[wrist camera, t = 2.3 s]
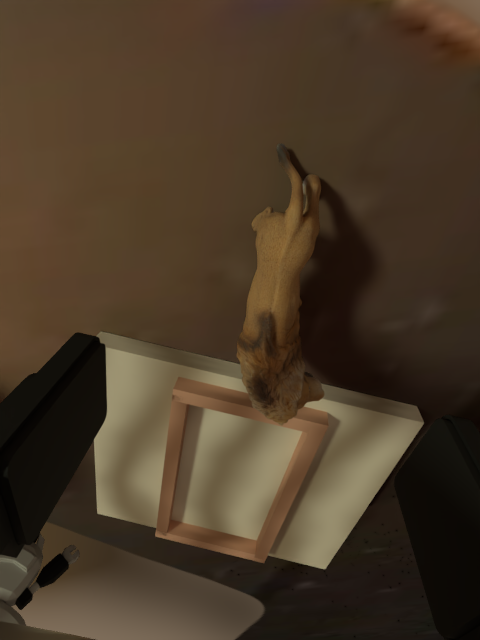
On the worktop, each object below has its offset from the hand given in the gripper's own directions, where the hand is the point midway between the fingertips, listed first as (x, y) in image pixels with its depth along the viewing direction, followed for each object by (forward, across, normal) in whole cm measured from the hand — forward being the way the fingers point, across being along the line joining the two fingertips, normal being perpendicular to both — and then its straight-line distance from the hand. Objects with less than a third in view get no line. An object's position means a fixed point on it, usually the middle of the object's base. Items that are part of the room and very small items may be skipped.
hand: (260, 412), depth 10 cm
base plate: (+11, -1, +18) cm, 21 cm away
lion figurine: (+12, 0, 0) cm, 12 cm away
